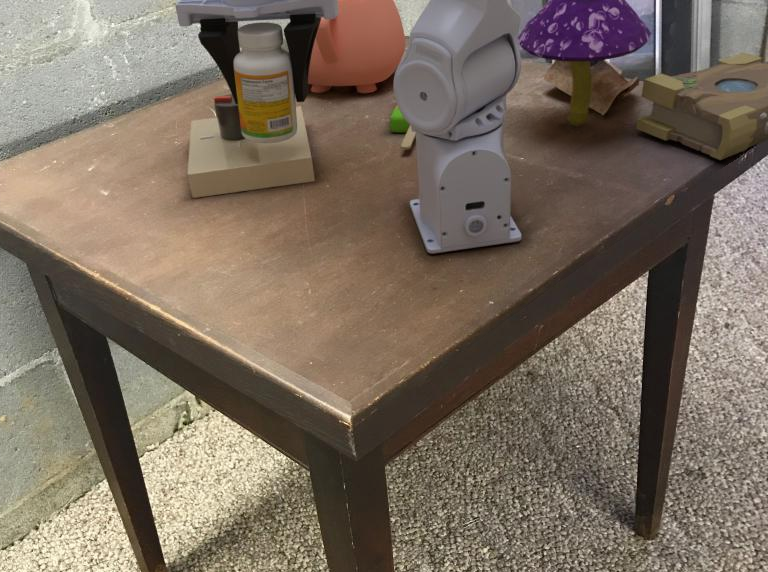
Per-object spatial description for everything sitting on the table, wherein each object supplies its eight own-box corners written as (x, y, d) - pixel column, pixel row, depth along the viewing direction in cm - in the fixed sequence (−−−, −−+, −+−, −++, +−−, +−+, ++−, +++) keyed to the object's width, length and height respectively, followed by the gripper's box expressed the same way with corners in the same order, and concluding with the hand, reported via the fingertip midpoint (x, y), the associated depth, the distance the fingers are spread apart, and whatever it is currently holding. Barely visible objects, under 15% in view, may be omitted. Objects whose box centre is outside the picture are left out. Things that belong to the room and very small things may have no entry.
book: (732, 92, 93) (743, 44, 90) (825, 124, 86) (841, 73, 83) (635, 128, 87) (643, 78, 84) (727, 166, 80) (739, 113, 77)
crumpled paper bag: (638, 76, 89) (660, 97, 95) (556, 17, 94) (582, 42, 100) (601, 123, 91) (625, 141, 97) (523, 63, 96) (551, 84, 102)
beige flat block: (315, 181, 86) (311, 155, 84) (192, 198, 85) (186, 172, 83) (304, 128, 97) (301, 104, 95) (196, 143, 96) (190, 119, 94)
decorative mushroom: (491, 132, 91) (491, -24, 81) (564, 94, 97) (572, -54, 88) (592, 161, 83) (605, -7, 74) (664, 118, 90) (685, -41, 80)
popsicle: (453, 101, 99) (453, 84, 98) (432, 157, 88) (431, 138, 87) (405, 101, 100) (404, 84, 99) (379, 157, 89) (377, 139, 88)
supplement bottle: (255, 121, 87) (244, 18, 81) (306, 126, 86) (298, 21, 80) (232, 141, 83) (219, 34, 77) (284, 147, 82) (275, 38, 76)
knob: (259, 126, 91) (253, 89, 89) (249, 140, 89) (243, 103, 86) (226, 126, 92) (219, 90, 90) (216, 140, 89) (208, 103, 87)
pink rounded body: (423, 51, 113) (418, -52, 106) (383, 110, 99) (374, -5, 91) (326, 51, 117) (315, -49, 109) (273, 107, 102) (256, -3, 95)
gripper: (151, -41, 73) (186, 117, 82) (320, -52, 71) (338, 113, 79) (177, -61, 79) (208, 90, 87) (335, -71, 76) (350, 85, 85)
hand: (271, 99), depth 84 cm, fingers closed on supplement bottle, 5 cm apart
